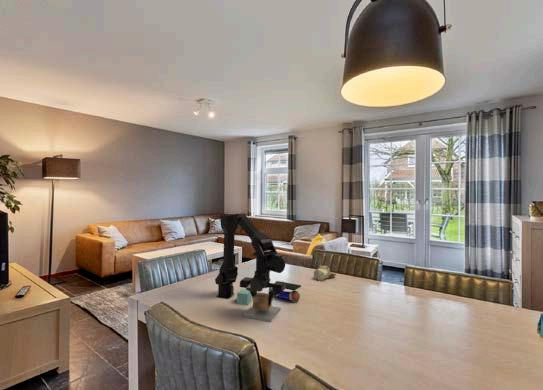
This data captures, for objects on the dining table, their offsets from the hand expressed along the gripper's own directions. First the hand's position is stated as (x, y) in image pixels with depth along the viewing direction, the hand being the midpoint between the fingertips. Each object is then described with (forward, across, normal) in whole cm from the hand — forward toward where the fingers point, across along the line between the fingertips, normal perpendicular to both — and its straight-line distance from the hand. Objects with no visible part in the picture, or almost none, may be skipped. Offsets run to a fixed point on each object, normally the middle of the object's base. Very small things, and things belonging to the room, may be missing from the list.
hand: (262, 305), depth 119 cm
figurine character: (+4, +4, +19) cm, 20 cm away
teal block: (+4, -12, +8) cm, 15 cm away
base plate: (+4, 0, 0) cm, 4 cm away
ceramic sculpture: (+4, +16, +58) cm, 60 cm away
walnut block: (+1, 0, 0) cm, 1 cm away
